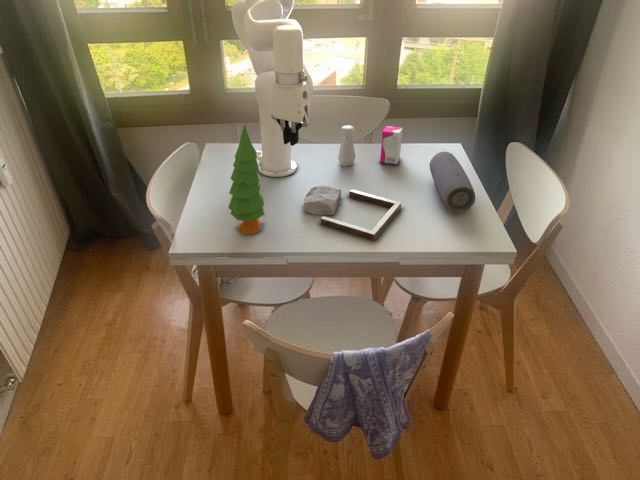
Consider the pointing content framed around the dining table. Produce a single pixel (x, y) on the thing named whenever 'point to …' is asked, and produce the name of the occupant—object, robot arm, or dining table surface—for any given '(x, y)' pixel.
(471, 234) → the dining table surface
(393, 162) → the supplement box
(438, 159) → the bluetooth speaker
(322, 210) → the stone block
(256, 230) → the decorative tree
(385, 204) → the frame
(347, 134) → the salt shaker
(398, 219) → the dining table surface
